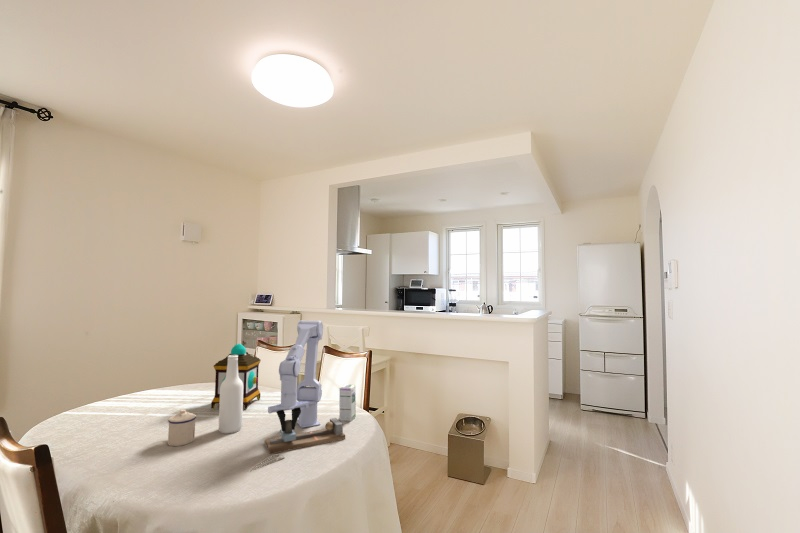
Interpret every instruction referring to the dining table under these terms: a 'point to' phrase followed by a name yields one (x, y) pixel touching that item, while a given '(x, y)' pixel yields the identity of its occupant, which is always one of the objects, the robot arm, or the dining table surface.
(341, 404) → the syrup box
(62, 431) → the dining table surface
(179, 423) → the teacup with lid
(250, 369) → the decorative lantern
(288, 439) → the handle
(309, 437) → the press bench
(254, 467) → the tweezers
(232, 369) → the alcohol
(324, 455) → the dining table surface
